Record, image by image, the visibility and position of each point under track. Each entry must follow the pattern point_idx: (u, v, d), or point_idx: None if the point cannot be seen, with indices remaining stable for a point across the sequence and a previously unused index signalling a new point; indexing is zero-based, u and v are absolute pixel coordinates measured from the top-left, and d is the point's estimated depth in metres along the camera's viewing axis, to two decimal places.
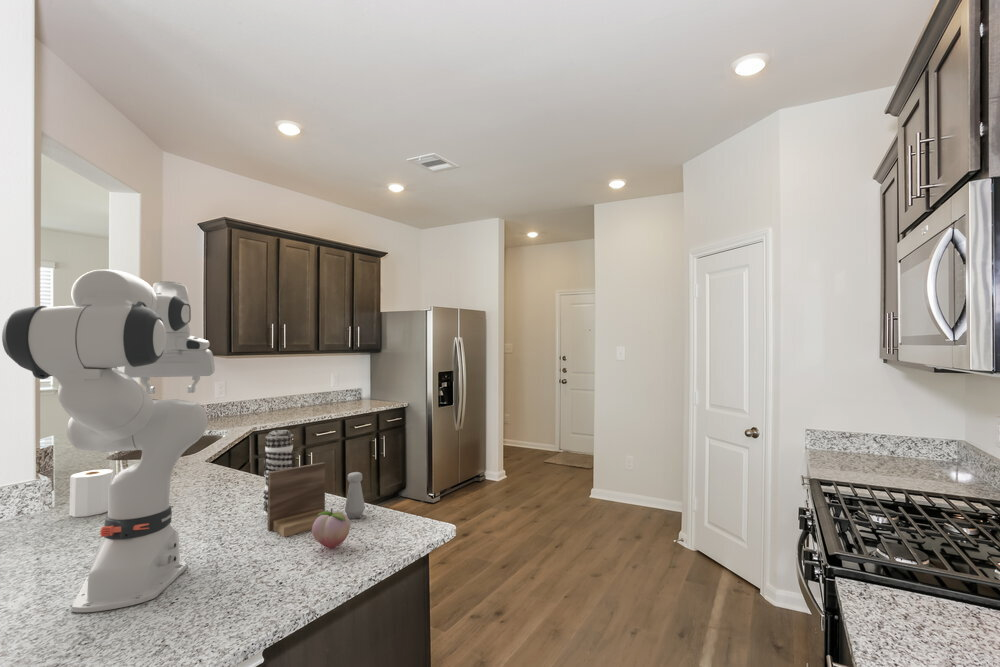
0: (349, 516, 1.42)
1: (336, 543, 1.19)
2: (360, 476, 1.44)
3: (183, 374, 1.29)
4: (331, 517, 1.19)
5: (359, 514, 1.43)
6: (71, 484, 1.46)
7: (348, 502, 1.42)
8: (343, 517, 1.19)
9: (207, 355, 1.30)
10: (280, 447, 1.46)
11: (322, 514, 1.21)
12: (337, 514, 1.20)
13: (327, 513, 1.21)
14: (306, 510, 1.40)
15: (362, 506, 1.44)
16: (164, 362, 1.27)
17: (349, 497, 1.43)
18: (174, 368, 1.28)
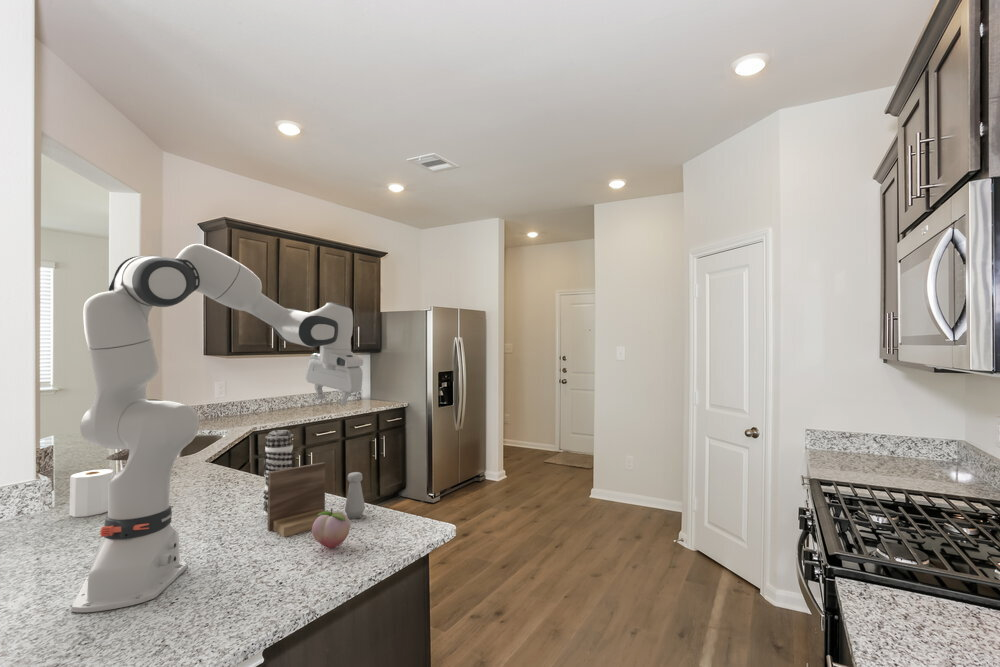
0: (349, 516, 1.42)
1: (336, 543, 1.19)
2: (360, 476, 1.44)
3: (336, 387, 1.41)
4: (331, 517, 1.19)
5: (359, 514, 1.43)
6: (71, 484, 1.46)
7: (348, 502, 1.42)
8: (343, 517, 1.19)
9: (350, 373, 1.38)
10: (280, 447, 1.46)
11: (322, 514, 1.21)
12: (337, 514, 1.20)
13: (327, 513, 1.21)
14: (306, 510, 1.40)
15: (362, 506, 1.44)
16: (326, 373, 1.44)
17: (349, 497, 1.43)
18: (331, 380, 1.42)
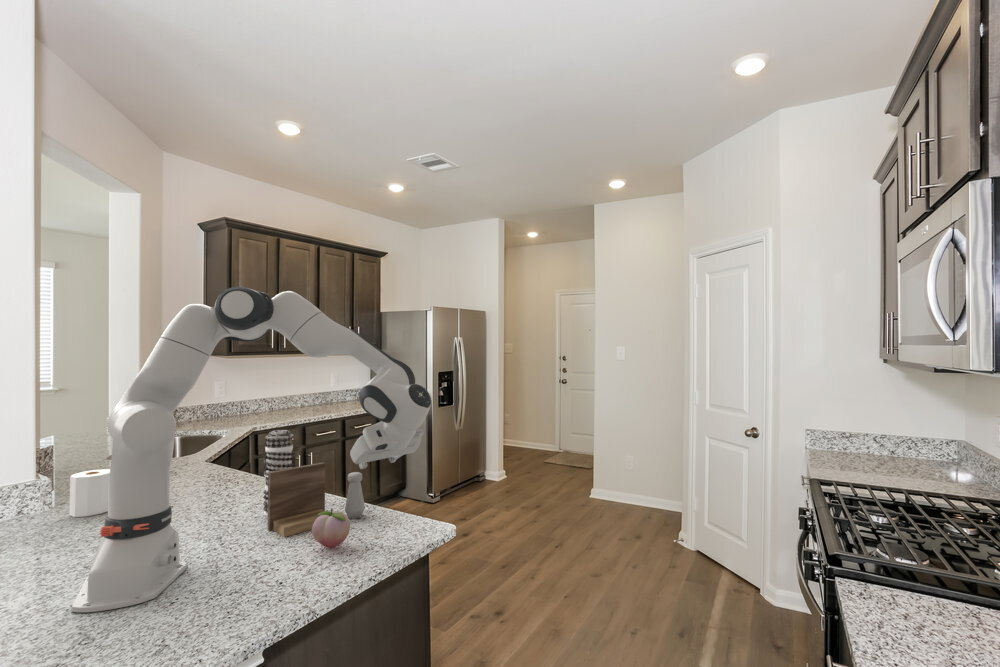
0: (349, 516, 1.42)
1: (336, 543, 1.19)
2: (360, 476, 1.44)
3: None
4: (331, 517, 1.19)
5: (359, 514, 1.43)
6: (71, 484, 1.46)
7: (348, 502, 1.42)
8: (343, 517, 1.19)
9: None
10: (280, 447, 1.46)
11: (322, 514, 1.21)
12: (337, 514, 1.20)
13: (327, 513, 1.21)
14: (306, 510, 1.40)
15: (362, 506, 1.44)
16: None
17: (349, 497, 1.43)
18: None
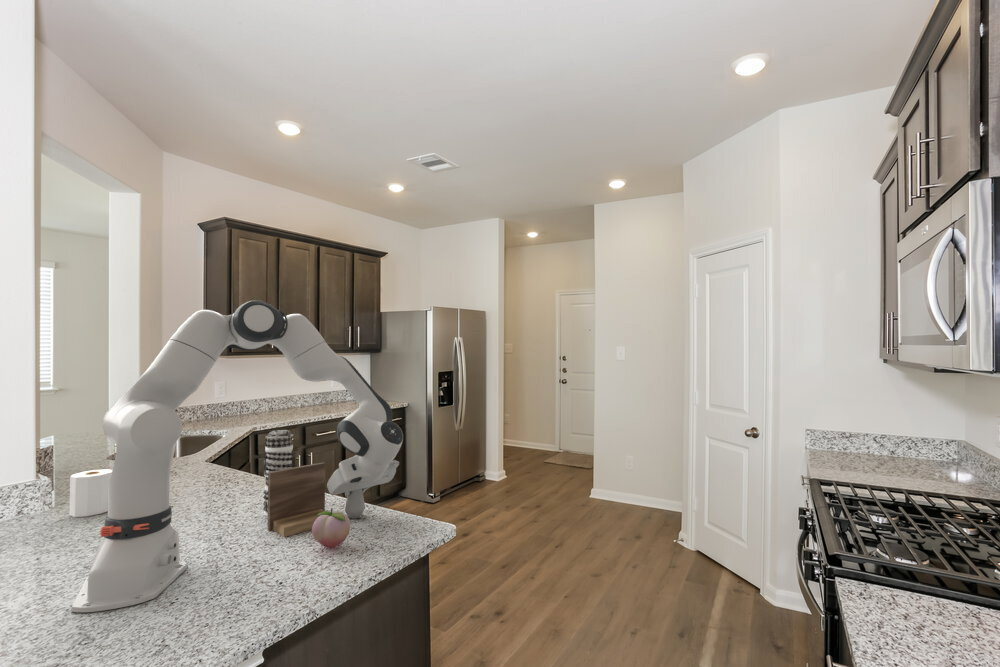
0: (349, 516, 1.42)
1: (336, 543, 1.19)
2: None
3: None
4: (331, 517, 1.19)
5: (359, 514, 1.43)
6: (71, 484, 1.46)
7: (348, 502, 1.43)
8: (343, 517, 1.19)
9: None
10: (280, 447, 1.46)
11: (322, 514, 1.21)
12: (337, 514, 1.20)
13: (327, 513, 1.21)
14: (306, 510, 1.40)
15: (362, 506, 1.44)
16: None
17: (349, 497, 1.43)
18: None
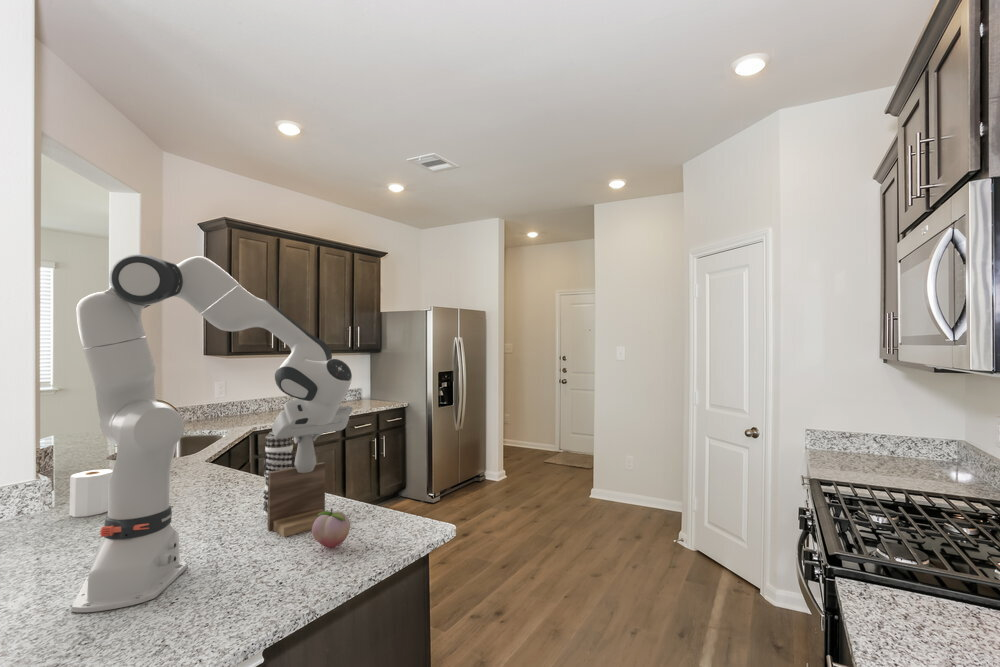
0: (298, 470, 1.34)
1: (336, 543, 1.19)
2: None
3: None
4: (331, 517, 1.19)
5: (309, 468, 1.35)
6: (71, 484, 1.46)
7: (297, 455, 1.34)
8: (343, 517, 1.19)
9: None
10: (280, 447, 1.46)
11: (322, 514, 1.21)
12: (337, 514, 1.20)
13: (327, 513, 1.21)
14: (306, 510, 1.40)
15: (313, 460, 1.35)
16: None
17: (299, 450, 1.35)
18: None
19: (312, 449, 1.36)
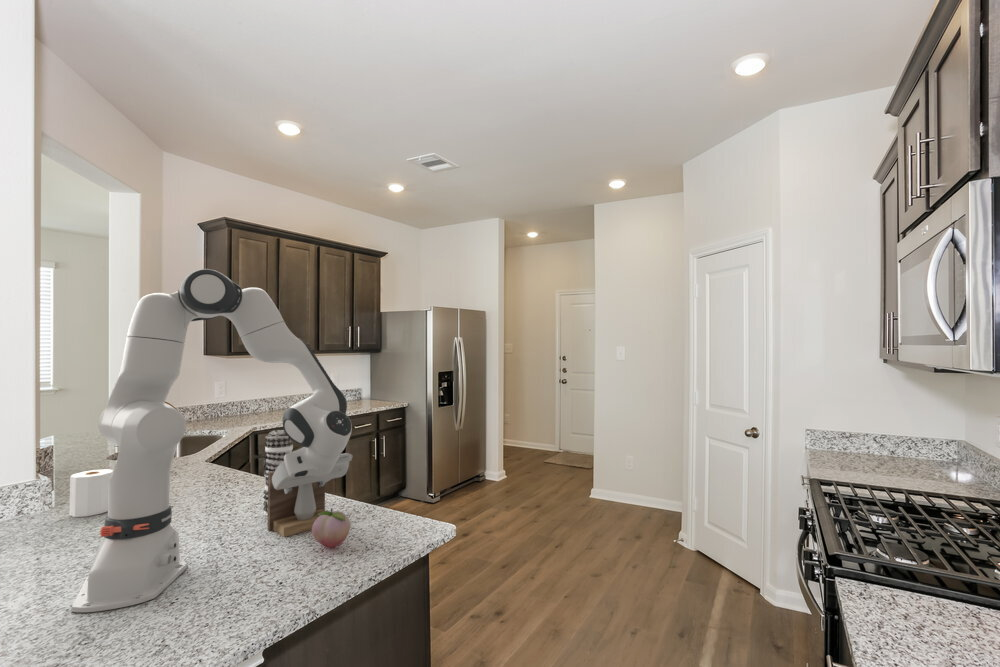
0: (298, 518, 1.34)
1: (336, 543, 1.19)
2: None
3: None
4: (331, 517, 1.19)
5: (309, 516, 1.34)
6: (71, 484, 1.46)
7: (297, 503, 1.34)
8: (343, 517, 1.19)
9: None
10: (280, 447, 1.46)
11: (322, 514, 1.21)
12: (337, 514, 1.20)
13: (327, 513, 1.21)
14: None
15: (312, 507, 1.35)
16: None
17: (298, 498, 1.34)
18: None
19: (312, 496, 1.36)
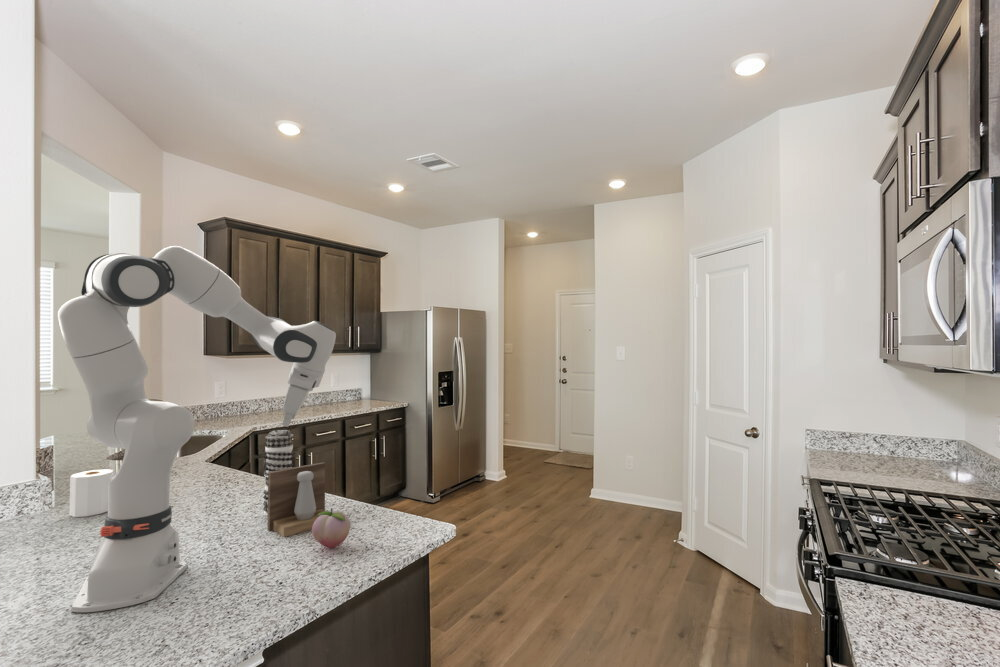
0: (298, 518, 1.34)
1: (336, 543, 1.19)
2: (311, 475, 1.36)
3: None
4: (331, 517, 1.19)
5: (309, 516, 1.34)
6: (71, 484, 1.46)
7: (297, 503, 1.34)
8: (343, 517, 1.19)
9: (287, 390, 1.29)
10: (280, 447, 1.46)
11: (322, 514, 1.21)
12: (337, 514, 1.20)
13: (327, 513, 1.21)
14: None
15: (312, 507, 1.35)
16: None
17: (298, 498, 1.34)
18: None
19: (312, 496, 1.36)
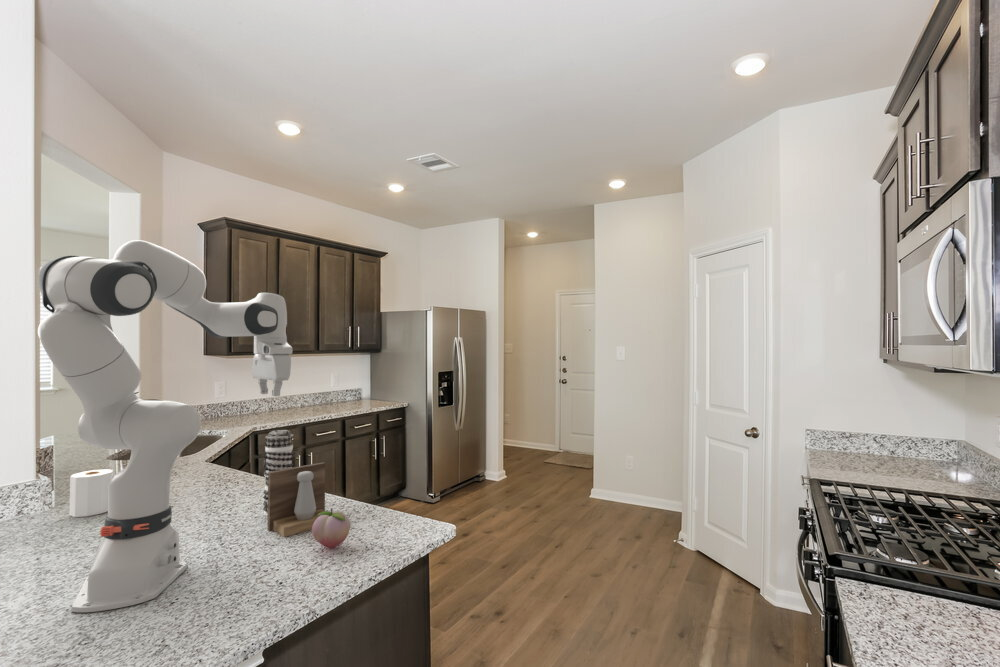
0: (298, 518, 1.34)
1: (336, 543, 1.19)
2: (310, 475, 1.36)
3: (267, 377, 1.37)
4: (331, 517, 1.19)
5: (309, 516, 1.34)
6: (71, 484, 1.46)
7: (297, 503, 1.34)
8: (343, 517, 1.19)
9: (273, 360, 1.33)
10: (280, 447, 1.46)
11: (322, 514, 1.21)
12: (337, 514, 1.20)
13: (327, 513, 1.21)
14: None
15: (312, 507, 1.35)
16: (263, 365, 1.41)
17: (298, 498, 1.34)
18: (265, 371, 1.39)
19: (312, 496, 1.36)
